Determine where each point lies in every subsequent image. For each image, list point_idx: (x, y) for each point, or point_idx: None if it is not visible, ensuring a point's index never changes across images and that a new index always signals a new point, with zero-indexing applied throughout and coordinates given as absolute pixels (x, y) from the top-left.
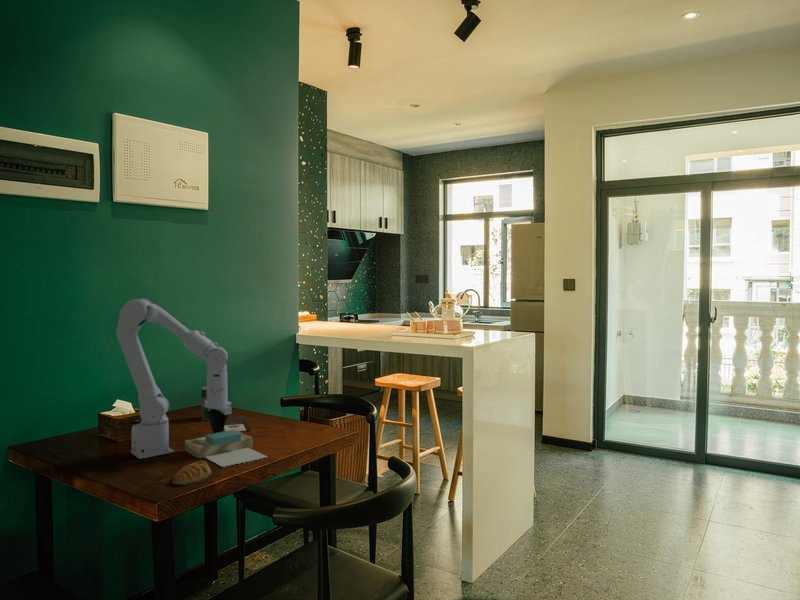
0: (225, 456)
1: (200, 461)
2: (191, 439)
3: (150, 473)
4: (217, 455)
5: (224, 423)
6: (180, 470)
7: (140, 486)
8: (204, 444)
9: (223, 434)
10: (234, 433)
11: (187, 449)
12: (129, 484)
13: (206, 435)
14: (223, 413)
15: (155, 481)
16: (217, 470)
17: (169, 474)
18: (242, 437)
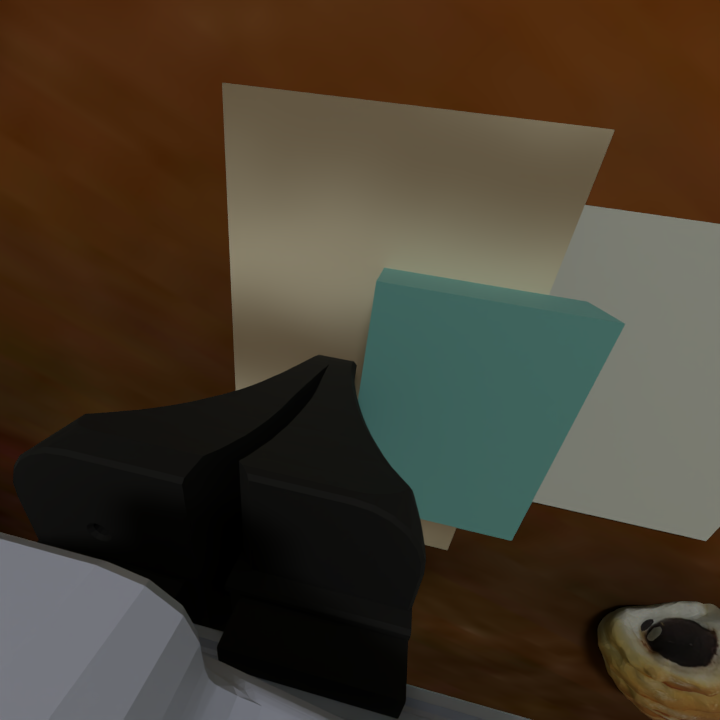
0: (572, 432)
1: (713, 695)
2: None
3: (449, 644)
4: None
5: (361, 415)
6: (646, 707)
7: (541, 705)
8: None
9: (462, 434)
10: (532, 355)
11: None
12: (492, 701)
13: None
14: (405, 617)
15: (544, 677)
16: (697, 557)
17: (522, 635)
18: (497, 213)
